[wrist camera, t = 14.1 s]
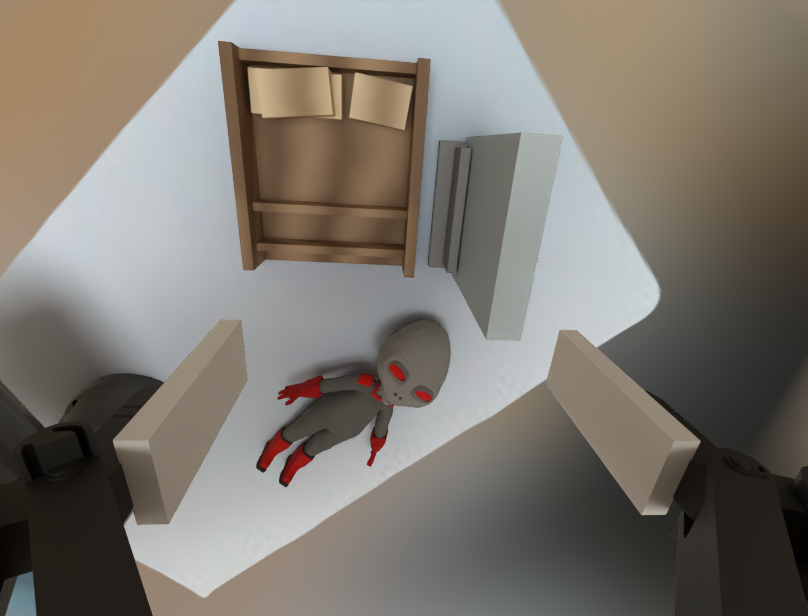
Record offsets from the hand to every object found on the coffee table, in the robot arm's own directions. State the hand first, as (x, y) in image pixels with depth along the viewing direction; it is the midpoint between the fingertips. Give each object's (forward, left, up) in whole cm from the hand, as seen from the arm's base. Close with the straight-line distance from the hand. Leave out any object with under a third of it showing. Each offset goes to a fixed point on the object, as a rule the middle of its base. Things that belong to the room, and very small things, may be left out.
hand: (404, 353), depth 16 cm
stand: (+8, +2, -28) cm, 29 cm away
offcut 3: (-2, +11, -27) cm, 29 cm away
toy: (-4, -22, -28) cm, 36 cm away
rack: (-6, +5, -28) cm, 29 cm away
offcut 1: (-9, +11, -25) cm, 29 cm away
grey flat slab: (+8, +2, -27) cm, 28 cm away
